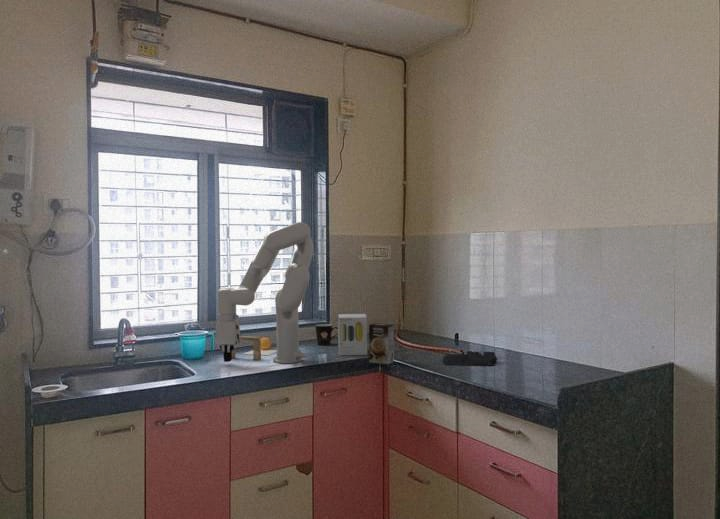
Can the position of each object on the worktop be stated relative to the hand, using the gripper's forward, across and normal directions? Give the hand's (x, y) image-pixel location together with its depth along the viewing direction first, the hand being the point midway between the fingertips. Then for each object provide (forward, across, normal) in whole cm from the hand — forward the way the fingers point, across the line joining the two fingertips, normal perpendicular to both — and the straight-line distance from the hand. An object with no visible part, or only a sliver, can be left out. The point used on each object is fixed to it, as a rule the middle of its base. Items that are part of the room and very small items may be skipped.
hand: (227, 361), depth 219 cm
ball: (-2, +2, -35) cm, 35 cm away
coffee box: (+2, -61, -22) cm, 65 cm away
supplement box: (+2, -42, -39) cm, 57 cm away
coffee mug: (+2, -22, -56) cm, 60 cm away
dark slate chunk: (+2, -96, -31) cm, 101 cm away
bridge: (+2, 0, -13) cm, 13 cm away
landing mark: (+2, 0, -29) cm, 29 cm away
